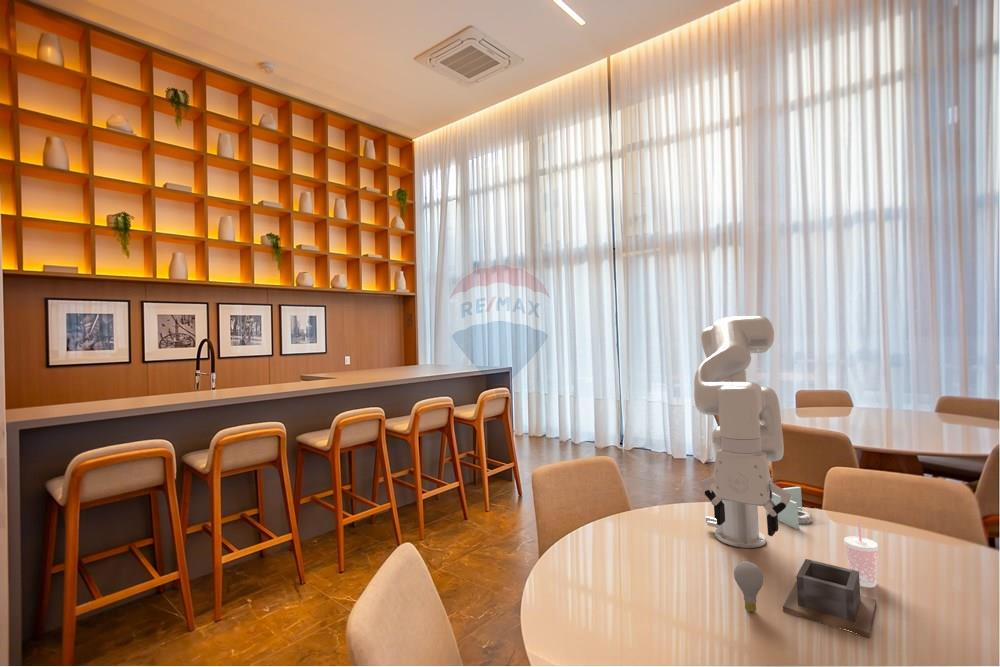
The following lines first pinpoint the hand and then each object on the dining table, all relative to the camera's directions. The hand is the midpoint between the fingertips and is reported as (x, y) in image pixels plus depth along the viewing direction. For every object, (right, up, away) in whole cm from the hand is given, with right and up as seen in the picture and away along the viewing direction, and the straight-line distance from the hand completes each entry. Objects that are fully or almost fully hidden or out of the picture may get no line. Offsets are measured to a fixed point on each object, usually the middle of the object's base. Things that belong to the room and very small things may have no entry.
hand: (745, 528), depth 97 cm
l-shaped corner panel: (+40, -16, +45) cm, 62 cm away
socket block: (+17, -16, 0) cm, 24 cm away
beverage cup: (+31, -16, +9) cm, 36 cm away
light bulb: (+1, -17, 0) cm, 18 cm away
